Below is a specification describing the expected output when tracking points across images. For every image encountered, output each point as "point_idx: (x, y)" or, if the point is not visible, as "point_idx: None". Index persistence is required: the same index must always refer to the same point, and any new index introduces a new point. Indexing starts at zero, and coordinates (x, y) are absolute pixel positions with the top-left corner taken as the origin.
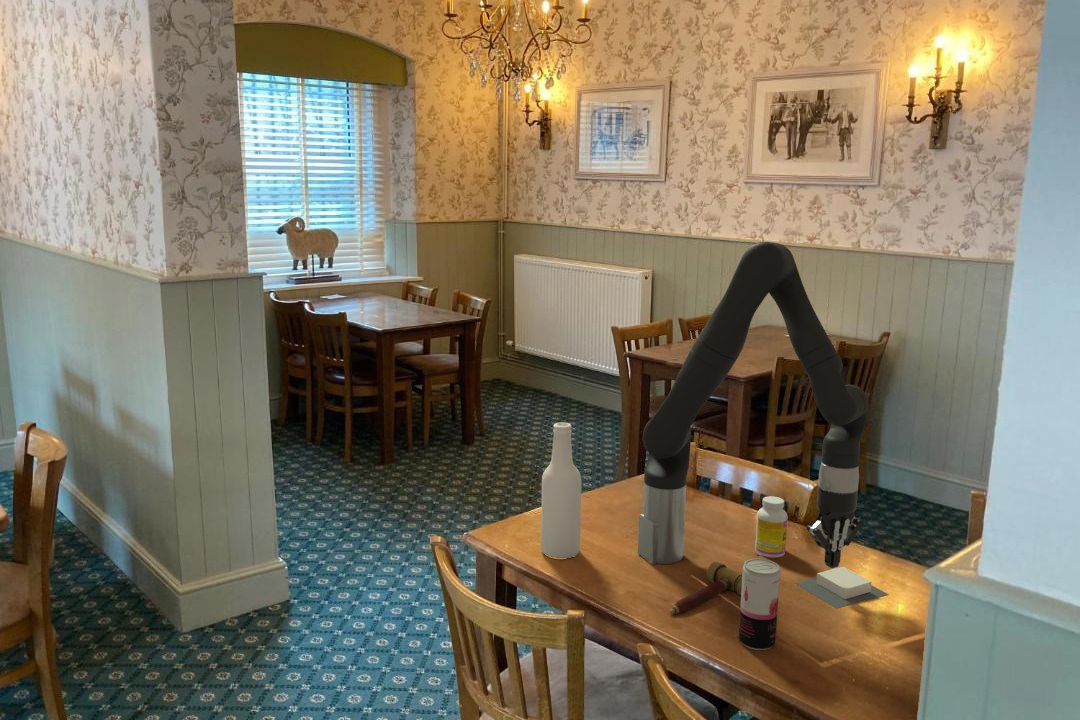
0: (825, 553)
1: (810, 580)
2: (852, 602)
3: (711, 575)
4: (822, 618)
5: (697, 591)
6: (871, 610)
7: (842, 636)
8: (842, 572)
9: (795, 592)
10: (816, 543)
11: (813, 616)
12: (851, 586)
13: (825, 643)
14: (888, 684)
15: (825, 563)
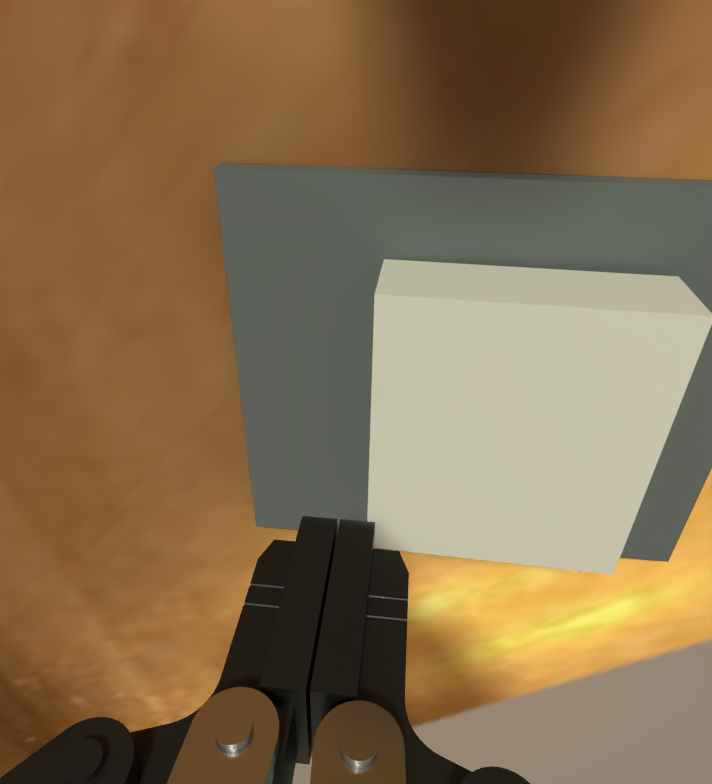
0: (231, 647)
1: (376, 193)
2: None
3: None
4: (144, 524)
5: None
6: (437, 578)
7: (141, 630)
8: (583, 394)
9: (166, 253)
10: (20, 767)
11: (110, 496)
12: (433, 545)
13: (45, 628)
14: None
15: (273, 546)
